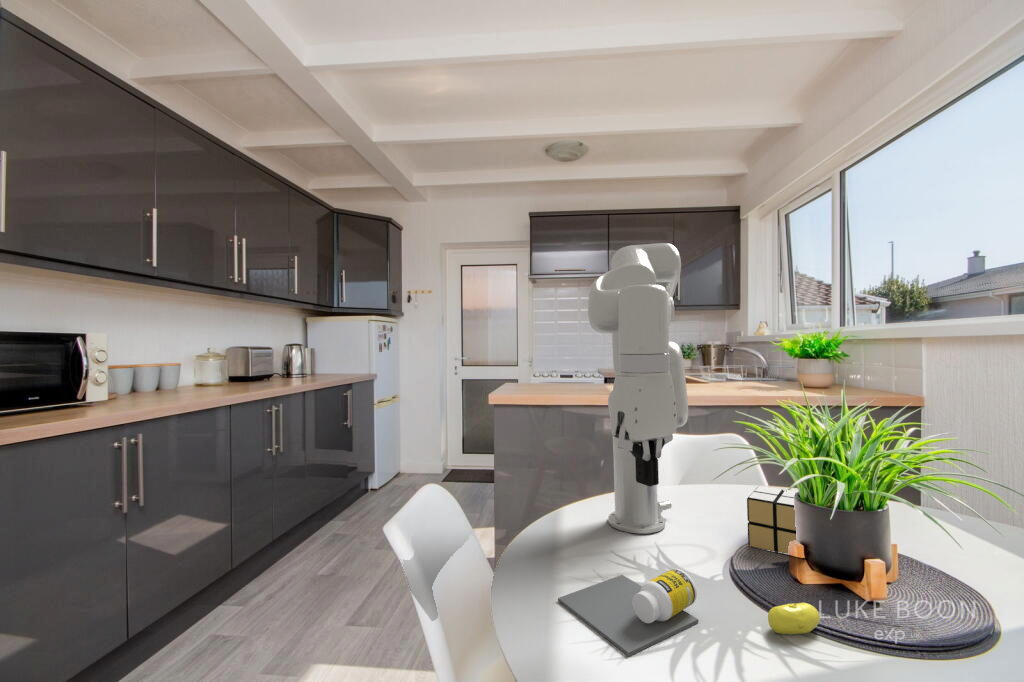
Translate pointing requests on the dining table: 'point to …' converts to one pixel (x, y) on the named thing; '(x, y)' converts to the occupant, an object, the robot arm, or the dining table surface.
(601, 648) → the dining table surface
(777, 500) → the puzzle cube
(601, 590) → the charcoal mat
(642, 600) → the supplement bottle
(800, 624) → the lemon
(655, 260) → the robot arm
